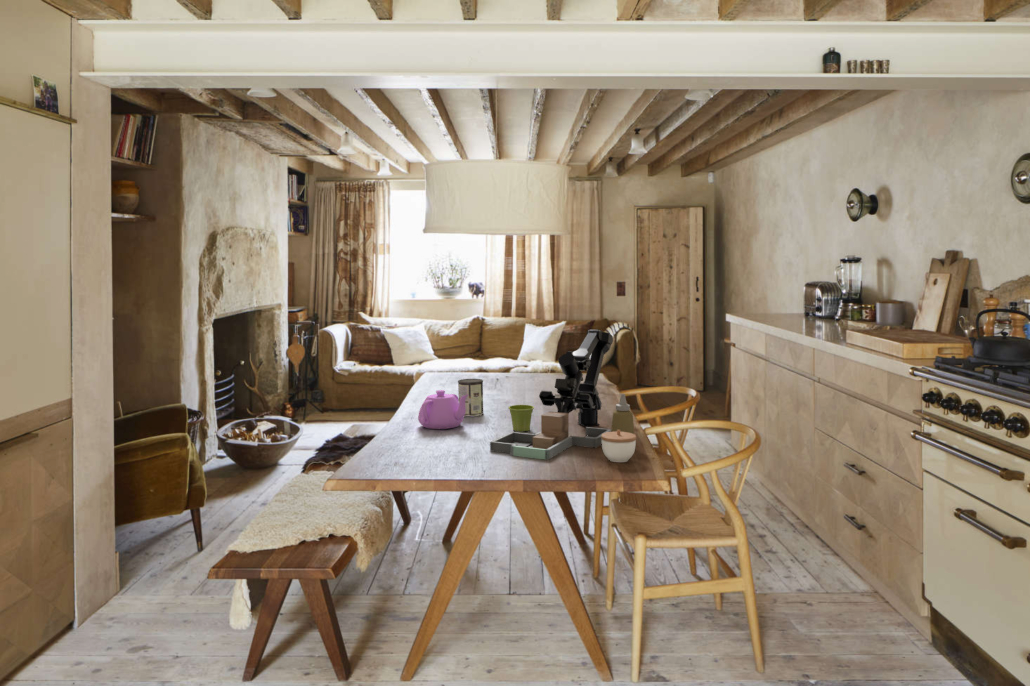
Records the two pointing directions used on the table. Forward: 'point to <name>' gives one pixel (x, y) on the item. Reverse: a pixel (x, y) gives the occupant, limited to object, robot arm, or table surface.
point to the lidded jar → (618, 445)
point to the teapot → (442, 411)
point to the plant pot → (521, 417)
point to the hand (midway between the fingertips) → (559, 419)
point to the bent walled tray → (520, 441)
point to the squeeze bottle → (622, 417)
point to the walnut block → (552, 430)
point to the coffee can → (472, 395)
